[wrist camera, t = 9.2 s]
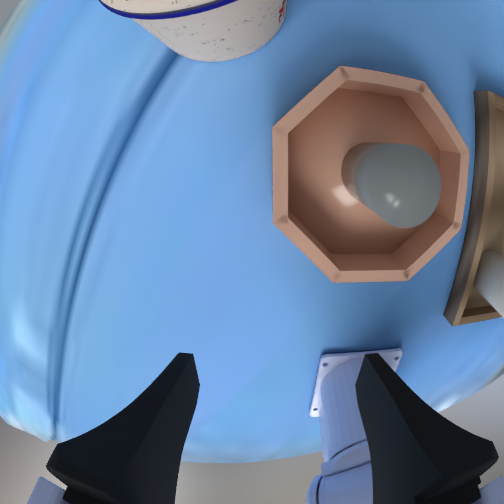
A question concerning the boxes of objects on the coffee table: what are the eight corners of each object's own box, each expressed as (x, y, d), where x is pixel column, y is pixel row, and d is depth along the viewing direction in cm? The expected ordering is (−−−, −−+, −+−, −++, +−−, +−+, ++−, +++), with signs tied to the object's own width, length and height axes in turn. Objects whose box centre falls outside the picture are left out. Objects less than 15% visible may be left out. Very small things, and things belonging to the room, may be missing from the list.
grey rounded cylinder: (394, 204, 17) (435, 229, 12) (339, 201, 17) (366, 226, 12) (398, 145, 15) (444, 150, 10) (341, 139, 16) (371, 139, 11)
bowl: (429, 260, 19) (449, 279, 16) (272, 260, 20) (272, 282, 17) (443, 98, 14) (468, 95, 11) (270, 75, 15) (270, 62, 12)
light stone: (492, 288, 19) (524, 319, 14) (465, 290, 19) (498, 325, 14) (503, 248, 17) (540, 275, 12) (476, 248, 18) (516, 278, 12)
